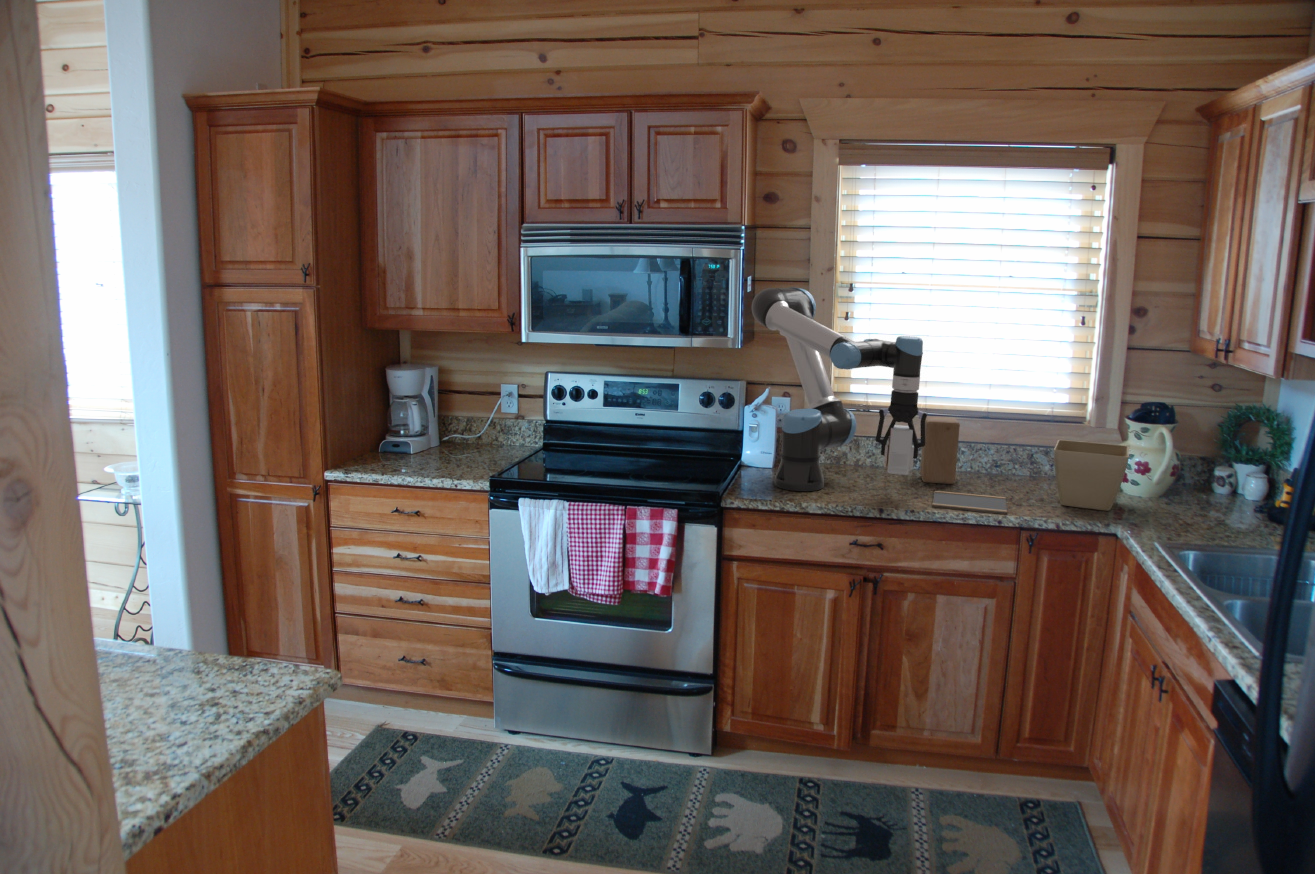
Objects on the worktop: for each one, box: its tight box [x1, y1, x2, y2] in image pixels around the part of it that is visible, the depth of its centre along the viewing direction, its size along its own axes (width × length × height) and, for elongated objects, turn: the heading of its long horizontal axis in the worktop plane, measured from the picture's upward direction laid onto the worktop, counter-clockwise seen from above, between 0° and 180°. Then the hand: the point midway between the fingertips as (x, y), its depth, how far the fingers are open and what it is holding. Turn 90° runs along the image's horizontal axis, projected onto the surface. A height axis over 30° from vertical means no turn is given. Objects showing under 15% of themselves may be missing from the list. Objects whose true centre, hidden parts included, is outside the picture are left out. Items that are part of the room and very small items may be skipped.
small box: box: [886, 424, 913, 476], centre depth 260 cm, size 8×6×13 cm
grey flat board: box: [931, 490, 1008, 515], centre depth 257 cm, size 20×16×1 cm
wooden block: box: [919, 415, 960, 485], centre depth 283 cm, size 10×10×20 cm
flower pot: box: [1053, 439, 1130, 512], centre depth 257 cm, size 19×19×17 cm
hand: (897, 467), depth 262 cm, fingers closed on small box, 7 cm apart
